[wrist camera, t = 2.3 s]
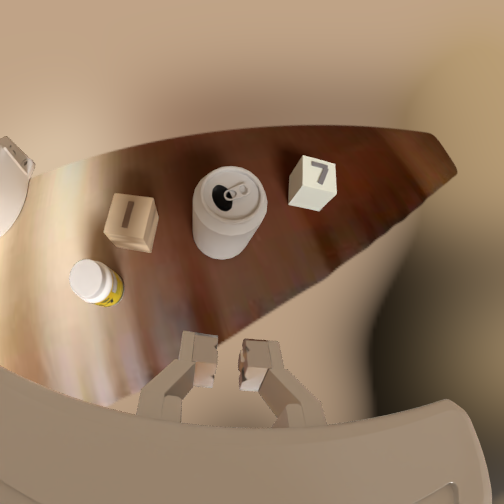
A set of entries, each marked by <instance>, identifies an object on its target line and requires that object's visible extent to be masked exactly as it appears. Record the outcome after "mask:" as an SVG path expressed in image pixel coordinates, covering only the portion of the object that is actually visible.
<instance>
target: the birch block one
mask: <svg viewBox="0 0 504 504" xmlns="http://www.w3.org/2000/svg"><path fill="white" fill-rule="evenodd" d="M158 219H159V217H158V213H157V210H156V206H155V202H154V199H153V198H150V197H142V196H135V195H127V194H119V193H115V194H114V197H113V200H112V203H111V207H110V210H109V213H108V217H107V220H106V224H105V228H104V231H103V232H104V234H105V235H106V236H107V237H108V238H109V239H110V241H111V242H112V243H113V244H114V245H115V246H116V247H118V248H124V249H130V250H136V251H142V252H148V253H151V251H152V246H153V241H154V236H155V232H156V227H157V223H158Z"/></svg>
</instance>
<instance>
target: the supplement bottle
mask: <svg viewBox="0 0 504 504" xmlns="http://www.w3.org/2000/svg"><path fill="white" fill-rule="evenodd" d="M69 282H70V286H71V288H72V290H73V292H74V293H75V294H76V295H78V296H79V297H80V298H81V299H82V300H84V301H86V302H88V303H92V304H95V305H99V306H103V307H112V306H114V305H116V304H118V303H119V302H120V300H121V299H122V297H123V294H124V283H123V281H122V279H121V277H120V276H119V275H118V274H117V273H115V272H114V271H113V270H111V269H110V268H109V267H107V266H106V265H105V264H103V263H102V262H99V261H93V260H90V259H83V260H80V261H78V262H77V263H76V264H75V265H74V266H73V267H72V269H71V272H70V276H69Z"/></svg>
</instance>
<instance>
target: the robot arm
mask: <svg viewBox="0 0 504 504" xmlns="http://www.w3.org/2000/svg"><path fill="white" fill-rule="evenodd" d="M34 168H35V163H34V162H33V161H32V160H31V159H30V158H29V157H28V156H27V155H26V154H25V153H24V152H23V151H22V150H21V149H19V148H18V147H17V146H16V145H15V144H14V143H13V142H12V141H11V140H10V139H9V138H8V137H7V136H5V137H3V138H1V139H0V237H1V236H2V235H3V234H4V233H6V232H7V231H8V229H9V228H10V227H11V226H12V225H13V223H14V222H15V220H16V219H17V217H18V215H19V213H20V211H21V209H22V207H23V204H24V201H25V198H26V194H27V189H28V183H29V179H30V177H31V175H32V173H33V171H34ZM194 337H195V338H194ZM217 345H218V336H215V335H208V334H202V333H196V332H189V331H183V334H182V340H181V347H180V353H179V360H178V359H175V360H174V361H173V362H172V363H170V364H169V365H168V366H167V367H166V368H165V369H164V370H163V371H161V372H160V373H159V374H158V375H157V376H156V377H155V378H154V379H152V380H151V381H150V382H149V383H148V384H147V385H146V386H145V387H143V388H142V389H141V393H140V398H139V403H138V408H137V413H136V415H135V414H130V413H126V412H122V411H117V410H114V409H109V408H106V407H103V406H99V405H96V404H92V403H89V402H86V401H83V400H80V399H77V398H74V397H71V396H68V395H65V394H62V393H60V392H57V391H54V390H52V389H49V388H47V387H44V386H42V385H40V384H37V383H35V382H33V381H31V380H28V379H26V378H24V377H22V376H20V375H18V374H16V373H14V372H12V371H10V370H8V369H6V368H4V367H2V366H0V504H492V494H491V493H492V492H491V485H490V479H489V475H488V470H487V466H486V462H485V459H484V455H483V452H482V449H481V446H480V443H479V440H478V437H477V435H476V432H475V430H474V427H473V425H472V423H471V420H470V418H469V417H468V415H467V413H466V412H465V411H464V410H463V409H462V408H461V407H459V406H458V405H457V404H455V403H454V402H452V401H451V400H448V399H445V400H441V401H438V402H435V403H431V404H428V405H425V406H421V407H418V408H414V409H411V410H407V411H402V412H398V413H394V414H390V415H385V416H380V417H375V418H370V419H364V420H359V421H352V422H345V423H338V424H329V425H327V423H326V419H325V416H324V412H323V408H322V404H321V402H320V401H319V400H318V399H317V398H316V397H315V396H314V395H313V394H312V393H311V392H310V391H309V390H308V389H307V388H306V387H305V386H304V385H302V383H300V381H299V380H298V379H296V377H295V376H294V375H292V373H290V371H288V369H284V365H283V360H282V355H281V350H280V345H279V342H278V341H268V340H267V341H266V340H254V339H244V340H243V344H242V346H243V349H242V350H241V351H240V354H239V360H238V370H239V371H240V376H239V387H240V390H244V391H258V393H259V394H260V396H261V397H262V398H263V400H264V401H265V402H266V404H267V405H268V406H269V408H270V409H271V410H272V412H273V413H274V414H275V416H276V417H277V418H278V419H277V420H276V422H275V423H274V424H273V426H272V427H271V428H236V427H218V426H206V425H196V424H188V423H181V411H182V400H183V399H184V397H185V396H186V395H187V394H188V393H189V391H190V390H191V389H192V388H193V386H197V387H208V388H212V387H213V382H214V374H215V373H216V368H217V358H218V356H217V355H218V351H217Z"/></svg>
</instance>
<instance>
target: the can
mask: <svg viewBox="0 0 504 504" xmlns="http://www.w3.org/2000/svg"><path fill="white" fill-rule="evenodd" d="M266 212H267V198H266V194H265V191H264V189H263V186H262V184H261V183H260V181H259V180H258V178H257V177H256V176H255V175H253V174H252V173H251V172H250V171H248V170H245V169H243V168H241V167H235V166H226V167H220V168H218V169H215V170H213V171H212V172H211V173H209V174H207V175H206V176H205V177H204V178H202V179H201V180H200V182H199V183H198V185H197V186H196V188H195V191H194V196H193V238H194V241H195V243H196V245H197V247H198V248H199V249H200V250H201V251H202V252H203V253H204V254H205V255H207V256H209V257H211V258H215V259H228V258H232V257H234V256H236V255H238V254H239V253H240V252H241V251H242V250H243V249H244V248H245V247H246V245H247V244H248V242H249V241H250V239H251V238H252V236H253V234H254V233H255V231H256V230H257V228H258V227H259V225H260V224H261V222H262V220H263V218H264V216H265V214H266Z"/></svg>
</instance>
